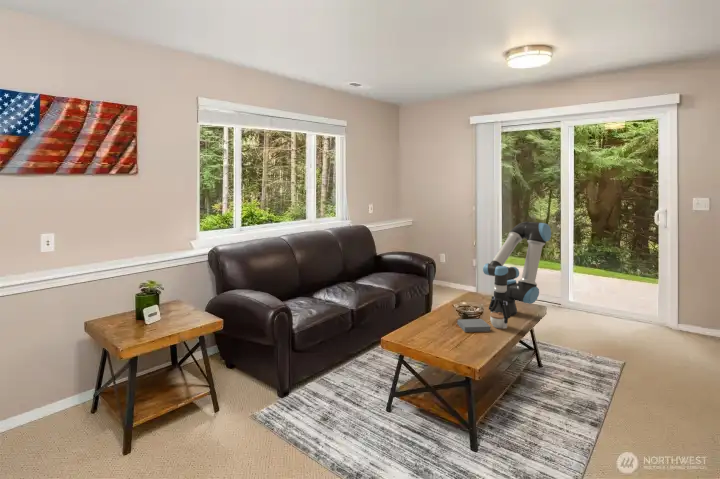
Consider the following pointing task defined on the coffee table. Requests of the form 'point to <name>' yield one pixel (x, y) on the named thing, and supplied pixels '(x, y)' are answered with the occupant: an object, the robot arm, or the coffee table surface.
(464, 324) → the block
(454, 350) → the coffee table surface
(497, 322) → the lidded jar
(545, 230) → the robot arm
